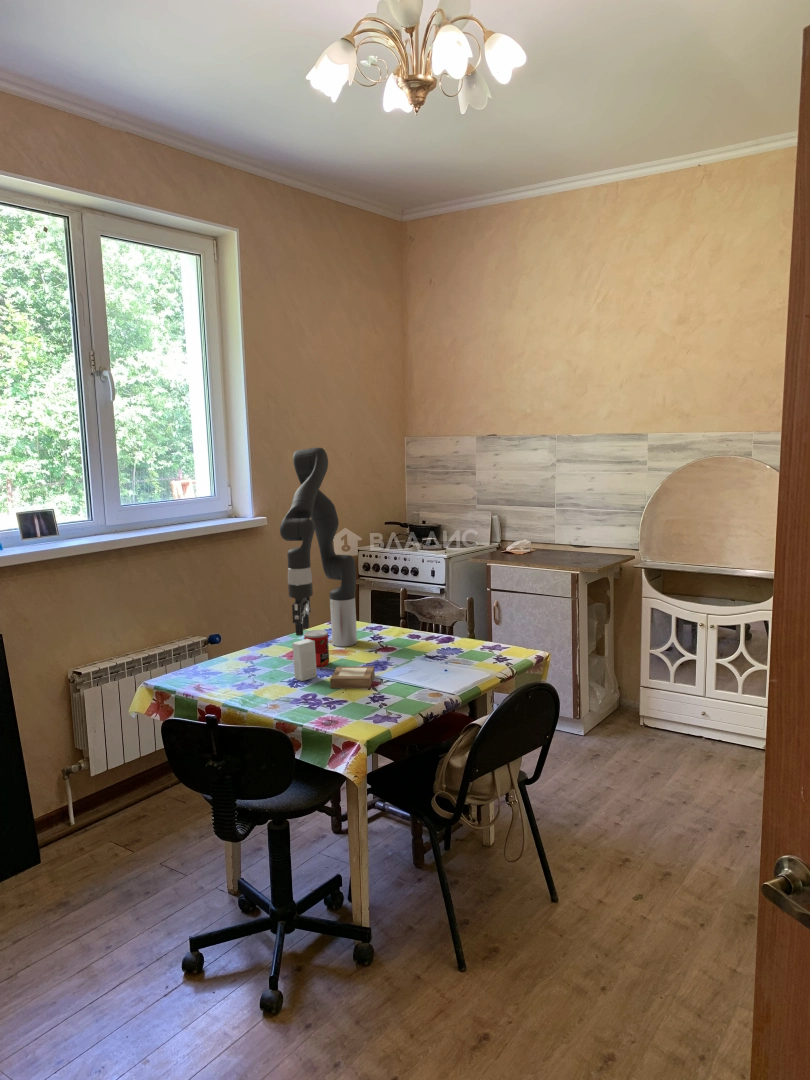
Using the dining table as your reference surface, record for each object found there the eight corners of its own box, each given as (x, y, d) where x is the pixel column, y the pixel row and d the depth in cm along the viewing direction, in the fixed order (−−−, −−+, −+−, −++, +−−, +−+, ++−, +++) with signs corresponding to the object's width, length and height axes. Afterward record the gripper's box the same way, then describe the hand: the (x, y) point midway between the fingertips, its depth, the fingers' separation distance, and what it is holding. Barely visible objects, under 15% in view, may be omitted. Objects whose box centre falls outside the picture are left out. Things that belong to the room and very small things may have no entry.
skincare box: (309, 674, 241) (307, 638, 239) (317, 677, 238) (315, 640, 236) (293, 678, 237) (291, 642, 235) (301, 681, 234) (299, 644, 232)
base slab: (337, 675, 238) (337, 666, 238) (374, 675, 237) (374, 665, 237) (330, 688, 227) (330, 678, 226) (369, 688, 226) (369, 678, 225)
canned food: (325, 668, 247) (323, 636, 245) (302, 667, 248) (300, 635, 247) (332, 661, 254) (330, 630, 252) (310, 660, 256) (308, 629, 254)
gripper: (293, 577, 240) (296, 626, 243) (282, 586, 226) (285, 637, 229) (316, 577, 240) (318, 626, 242) (306, 585, 226) (309, 637, 228)
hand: (302, 631), depth 235 cm, fingers open, 8 cm apart
